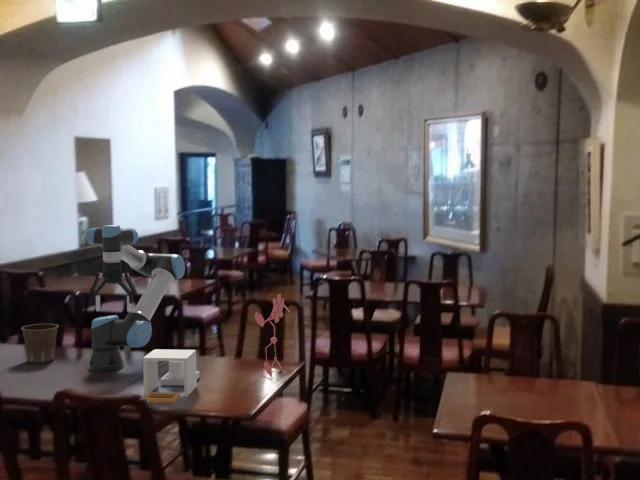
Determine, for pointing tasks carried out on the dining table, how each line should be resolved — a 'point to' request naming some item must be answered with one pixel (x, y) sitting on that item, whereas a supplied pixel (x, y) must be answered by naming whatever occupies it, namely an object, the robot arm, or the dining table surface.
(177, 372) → the white cup
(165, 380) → the square frame with handle
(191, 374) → the tunnel
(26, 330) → the plant pot
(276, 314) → the figurine
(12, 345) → the dining table surface
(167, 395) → the frame
